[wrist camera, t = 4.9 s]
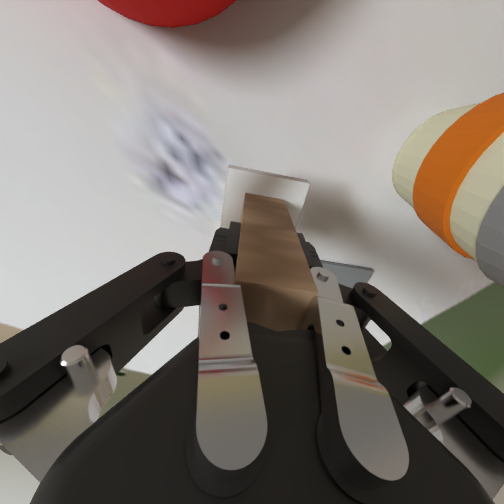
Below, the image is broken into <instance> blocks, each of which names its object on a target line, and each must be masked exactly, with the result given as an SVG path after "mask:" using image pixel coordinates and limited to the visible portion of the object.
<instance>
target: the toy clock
mask: <svg viewBox="0 0 504 504" xmlns="http://www.w3.org/2000/svg"><path fill="white" fill-rule="evenodd" d="M98 1H99V2H101V3H102V4H103V5H105V6H107V7H109V8H111V9H112V10H114V11H116V12H118V13H120V14H122V15H123V16H125V17H127V18H129V19H133V20H136V21H139V22H142V23H145V24H148V25H151V26H162V27H174V28H175V27H181V26H187V25H193V24H198V23H200V22H202V21H204V20H207V19H209V18H211V17H214V16H216V15H218V14H219V13H221V12H222V11H223V10H225V9H226V8H227V7H229V6H230V5H231V4H233V3H234V2H235V1H237V0H98Z"/></svg>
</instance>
